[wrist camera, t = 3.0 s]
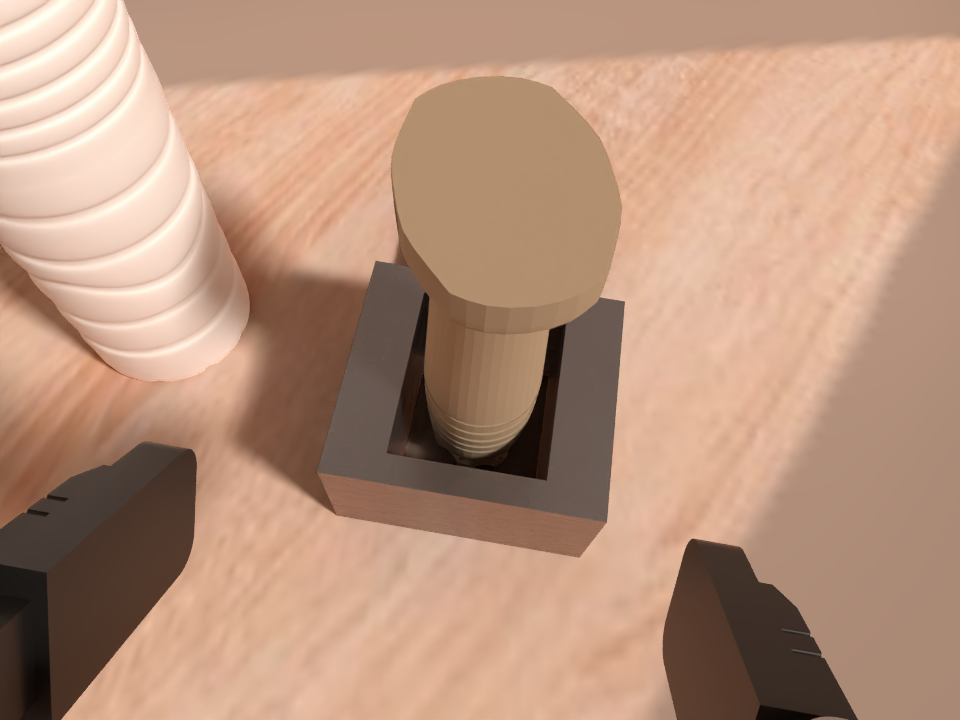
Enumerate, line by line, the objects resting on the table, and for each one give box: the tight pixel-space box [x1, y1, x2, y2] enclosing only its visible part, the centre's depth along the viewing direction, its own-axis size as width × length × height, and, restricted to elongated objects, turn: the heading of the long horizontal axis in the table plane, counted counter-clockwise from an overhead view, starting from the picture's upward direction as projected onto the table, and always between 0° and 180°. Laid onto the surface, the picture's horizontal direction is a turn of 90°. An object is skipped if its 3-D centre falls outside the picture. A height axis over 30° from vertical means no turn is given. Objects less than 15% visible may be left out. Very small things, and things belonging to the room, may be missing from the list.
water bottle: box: [0, 0, 250, 382], centre depth 20 cm, size 9×6×25 cm
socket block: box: [317, 261, 625, 557], centre depth 27 cm, size 9×8×5 cm
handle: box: [391, 76, 622, 468], centre depth 22 cm, size 5×6×15 cm
